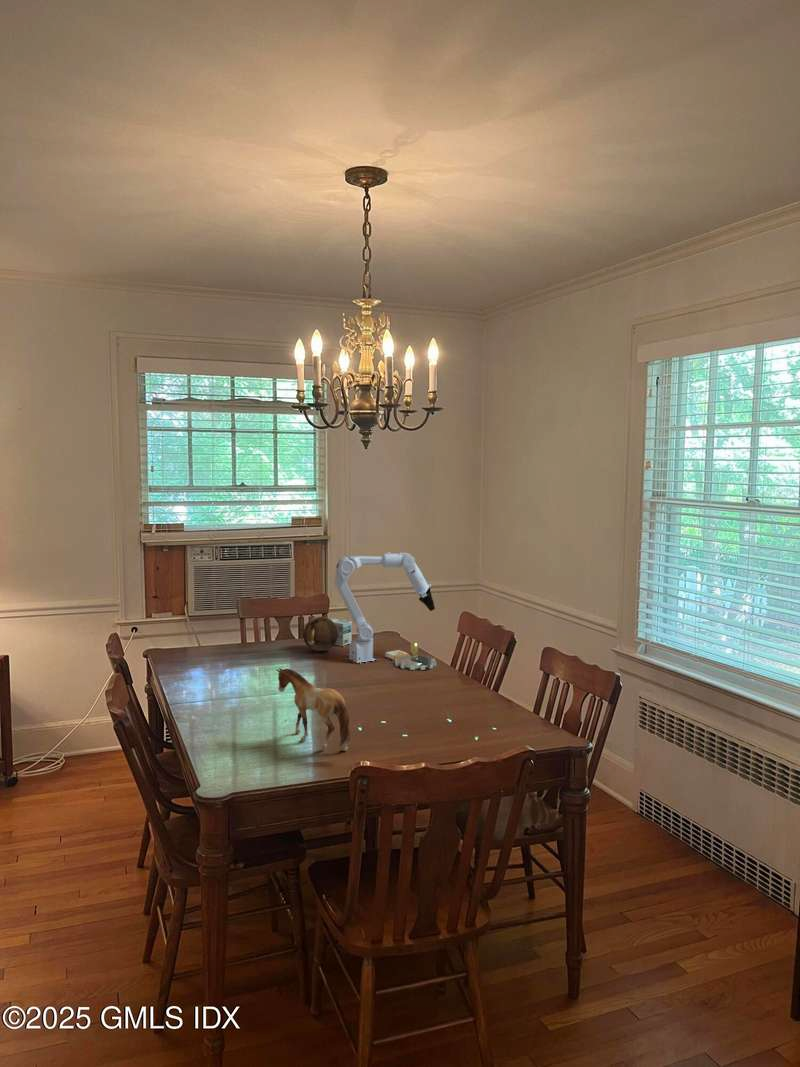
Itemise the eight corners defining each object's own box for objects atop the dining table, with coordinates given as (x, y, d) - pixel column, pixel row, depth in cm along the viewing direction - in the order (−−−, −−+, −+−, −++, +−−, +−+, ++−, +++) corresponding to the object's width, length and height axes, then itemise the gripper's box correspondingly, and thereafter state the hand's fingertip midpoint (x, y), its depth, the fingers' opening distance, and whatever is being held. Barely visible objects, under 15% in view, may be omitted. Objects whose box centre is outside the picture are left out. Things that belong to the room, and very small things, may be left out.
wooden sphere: (325, 645, 341) (325, 612, 339) (344, 652, 329) (345, 618, 328) (296, 649, 331) (296, 616, 330) (315, 657, 320) (315, 622, 318)
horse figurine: (274, 734, 228) (274, 667, 226) (294, 728, 234) (294, 662, 232) (344, 763, 207) (345, 690, 205) (364, 756, 213) (365, 684, 211)
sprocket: (412, 672, 298) (413, 660, 297) (387, 662, 312) (387, 651, 312) (445, 667, 307) (446, 655, 307) (419, 657, 322) (419, 646, 321)
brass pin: (413, 657, 322) (413, 643, 322) (408, 655, 325) (409, 642, 324) (419, 656, 324) (419, 642, 324) (414, 655, 327) (415, 641, 326)
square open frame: (394, 660, 316) (395, 655, 316) (385, 657, 322) (385, 652, 321) (408, 658, 320) (408, 653, 320) (399, 655, 326) (399, 650, 326)
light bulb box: (352, 644, 343) (352, 621, 342) (343, 647, 338) (343, 623, 337) (333, 641, 349) (333, 618, 348) (324, 643, 343) (324, 620, 342)
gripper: (426, 578, 308) (441, 607, 310) (424, 571, 323) (439, 598, 324) (411, 586, 309) (426, 615, 311) (410, 579, 323) (425, 606, 325)
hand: (432, 607), depth 318 cm, fingers open, 7 cm apart
